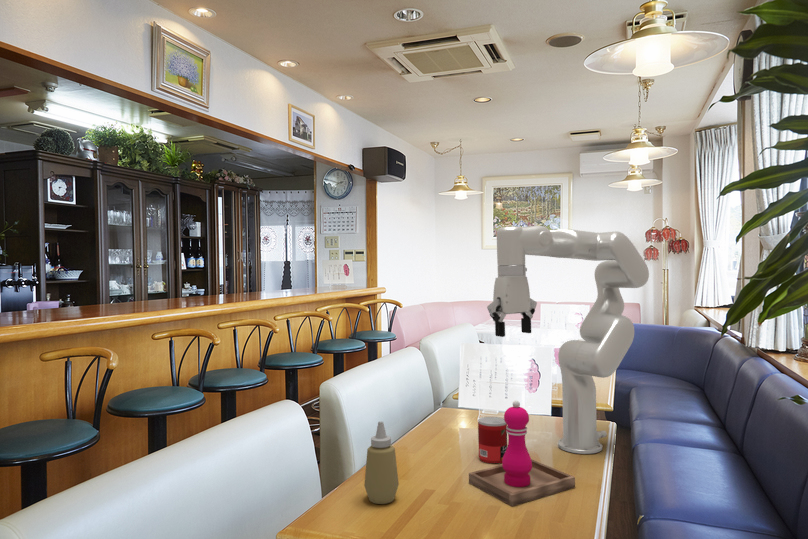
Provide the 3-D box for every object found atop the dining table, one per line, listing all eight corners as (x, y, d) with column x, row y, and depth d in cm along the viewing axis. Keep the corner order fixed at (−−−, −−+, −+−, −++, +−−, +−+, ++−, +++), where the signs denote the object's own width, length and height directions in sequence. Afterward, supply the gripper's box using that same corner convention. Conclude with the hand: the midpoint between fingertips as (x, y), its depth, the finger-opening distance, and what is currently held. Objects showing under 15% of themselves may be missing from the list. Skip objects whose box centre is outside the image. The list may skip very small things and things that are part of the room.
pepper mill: (535, 479, 136) (534, 398, 136) (528, 490, 130) (527, 405, 129) (506, 475, 139) (505, 396, 139) (498, 485, 133) (497, 402, 133)
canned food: (507, 465, 149) (506, 424, 149) (477, 463, 151) (477, 423, 151) (507, 455, 157) (507, 417, 157) (479, 454, 158) (478, 415, 158)
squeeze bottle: (386, 510, 122) (385, 429, 122) (357, 502, 126) (356, 424, 126) (405, 496, 129) (404, 420, 129) (377, 489, 133) (376, 415, 133)
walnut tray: (528, 467, 147) (528, 458, 147) (575, 487, 133) (575, 477, 133) (468, 483, 137) (468, 473, 137) (512, 506, 123) (512, 495, 123)
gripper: (524, 271, 158) (526, 330, 158) (478, 273, 149) (480, 336, 149) (544, 270, 152) (546, 332, 152) (497, 273, 142) (499, 339, 143)
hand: (513, 334), depth 150 cm, fingers open, 9 cm apart
